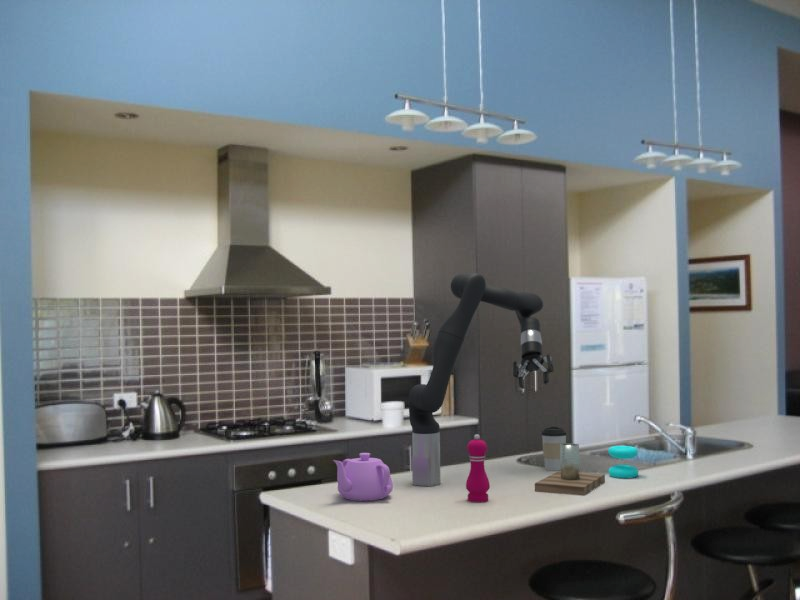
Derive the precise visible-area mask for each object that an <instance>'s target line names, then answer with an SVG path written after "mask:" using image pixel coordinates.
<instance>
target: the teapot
mask: <svg viewBox="0 0 800 600" xmlns="http://www.w3.org/2000/svg"><path fill="white" fill-rule="evenodd" d="M358 455H359V457H357V458H346V459H343V460H342V461H340V460H336V459H332V462H334V463H335V464H336V469H337V473H336V475H337V476H336V480H337V492H338V493H339V494H340V495H341V497H343V498H344V499H346V500H348V501H349V500H350V501H359V502H360V501H361V502H367V503H368V502H370V501H377V500H381V499H385V498H387V497H389V495H390V494H391V493H392V491H393V488H394V485H393V478H392V477H391V472H390V467H389V466H388V465H387V464H385V463H384V462H383V460H381V458H376V457H371V453H369V452H360V453H359V454H358Z"/></svg>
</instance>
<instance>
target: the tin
mask: <svg viewBox="0 0 800 600" xmlns="http://www.w3.org/2000/svg"><path fill="white" fill-rule="evenodd" d="M560 457H561V470H560V471H561V479H564V480H578V479H580V473H581V471H580V445H579V444H578V443H567V442H566V444H560Z"/></svg>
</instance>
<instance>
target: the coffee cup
mask: <svg viewBox="0 0 800 600" xmlns="http://www.w3.org/2000/svg"><path fill="white" fill-rule="evenodd" d="M567 436H568V435H567V431H566V430H564V428H560V427H559V426H550V427H545V428H544V430H543V431H541V439H542V452H543V454H542V455H543V459H544V460H543V462H544V469H545V470H546V471H552V472H553V471H554V472H558V471H561V457H560V444H566V443H567V441H566V440H567Z"/></svg>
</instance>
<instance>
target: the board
mask: <svg viewBox="0 0 800 600" xmlns="http://www.w3.org/2000/svg"><path fill="white" fill-rule="evenodd" d="M605 482H606V475H605V474H603V473H590V472H580V479H578V480H564V479H561V470H560V471H555V472H553V473H551V474H550V475H548V476H546V477H544V478H542V479H540V480H538V481H536V482H535V483H534V491H535V492H541V493H542V492H543V493H551V494H552V493H554V494H562V493H563V494H566V495H577V496H586V495H587V494H588V493H591V492H592V491H593V490H595V489H596V488H598V487H599V486H600V484H601V485H602V484H604V483H605ZM597 486H598V487H597ZM594 488H595V489H594ZM591 490H592V491H591Z"/></svg>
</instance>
